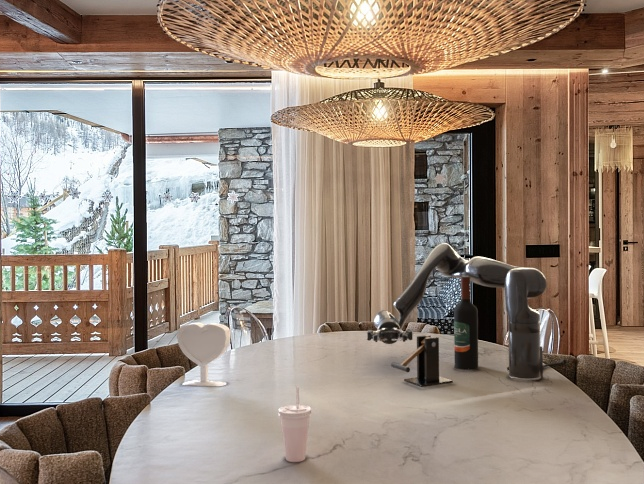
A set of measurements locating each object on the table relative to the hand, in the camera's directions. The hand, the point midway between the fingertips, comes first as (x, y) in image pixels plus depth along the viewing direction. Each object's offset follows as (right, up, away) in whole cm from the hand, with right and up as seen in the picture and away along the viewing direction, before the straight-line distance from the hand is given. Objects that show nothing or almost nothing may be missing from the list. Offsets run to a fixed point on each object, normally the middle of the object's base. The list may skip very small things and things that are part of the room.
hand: (390, 338), depth 185 cm
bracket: (+11, -12, -8) cm, 18 cm away
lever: (+7, -4, -10) cm, 13 cm away
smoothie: (-22, -13, -67) cm, 72 cm away
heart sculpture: (-56, -13, -5) cm, 57 cm away
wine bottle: (+25, -12, +11) cm, 30 cm away
